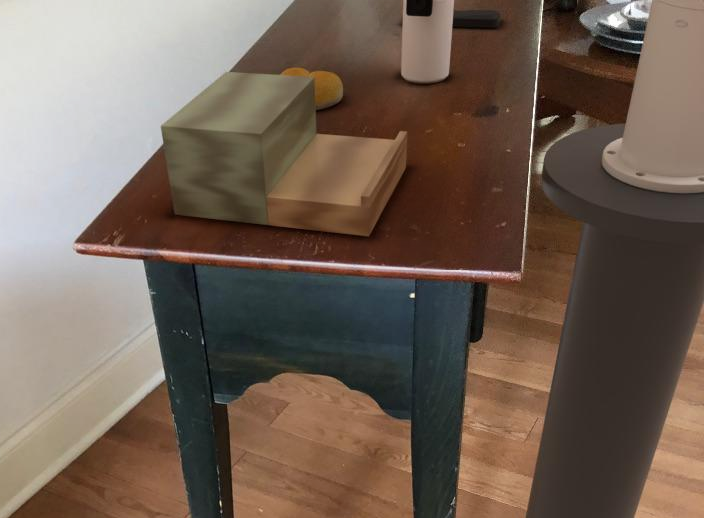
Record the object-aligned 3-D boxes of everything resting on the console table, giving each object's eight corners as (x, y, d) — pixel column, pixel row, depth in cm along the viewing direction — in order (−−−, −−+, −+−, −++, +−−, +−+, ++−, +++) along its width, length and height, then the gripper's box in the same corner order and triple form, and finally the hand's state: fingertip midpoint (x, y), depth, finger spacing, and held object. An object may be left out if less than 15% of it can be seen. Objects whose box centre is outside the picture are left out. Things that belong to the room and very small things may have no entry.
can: (391, 77, 109) (393, -20, 101) (422, 66, 112) (427, -29, 104) (427, 88, 105) (432, -12, 97) (458, 75, 108) (466, -22, 101)
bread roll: (334, 114, 99) (333, 81, 97) (266, 109, 102) (264, 77, 99) (351, 91, 105) (351, 60, 103) (287, 87, 108) (285, 56, 105)
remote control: (403, 29, 129) (497, 28, 125) (403, 17, 128) (498, 16, 124) (409, 20, 132) (501, 19, 128) (409, 9, 131) (501, 7, 127)
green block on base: (406, 167, 86) (409, 82, 80) (368, 236, 74) (369, 142, 68) (234, 152, 91) (225, 71, 85) (174, 215, 79) (160, 125, 74)
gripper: (455, -146, 85) (443, 25, 96) (479, -164, 97) (466, -11, 108) (386, -145, 87) (382, 22, 98) (419, -163, 99) (412, -13, 110)
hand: (426, 5), depth 103 cm, fingers open, 9 cm apart
